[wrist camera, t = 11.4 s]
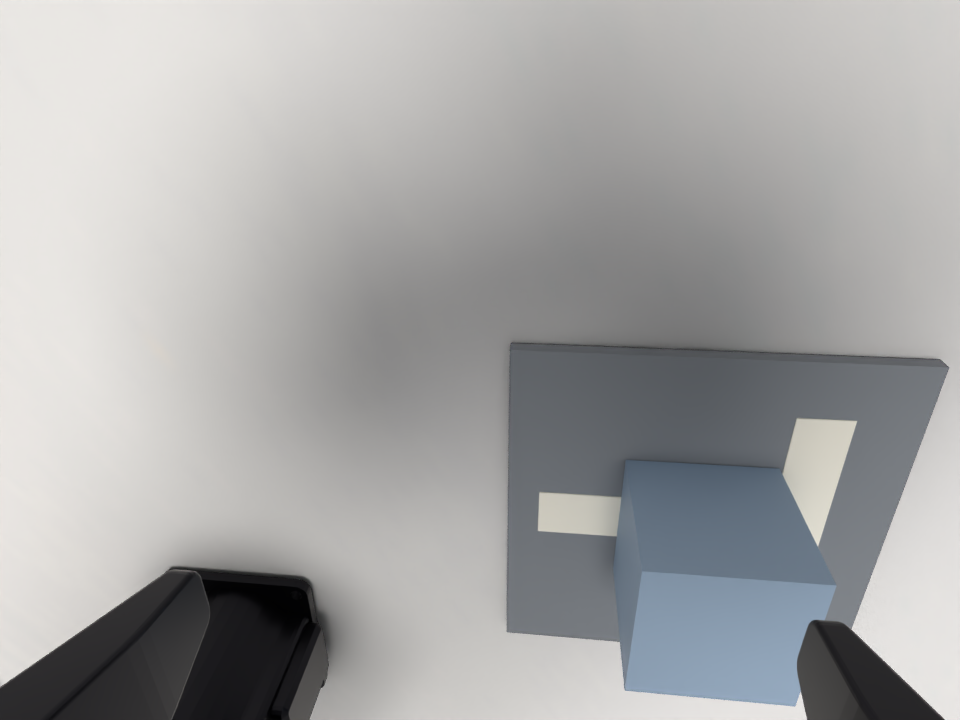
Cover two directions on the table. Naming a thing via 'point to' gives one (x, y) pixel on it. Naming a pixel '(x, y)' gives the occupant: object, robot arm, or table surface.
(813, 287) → the table surface
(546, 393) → the letter card
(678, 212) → the table surface
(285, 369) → the table surface
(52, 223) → the table surface
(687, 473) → the blue cube
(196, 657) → the robot arm
